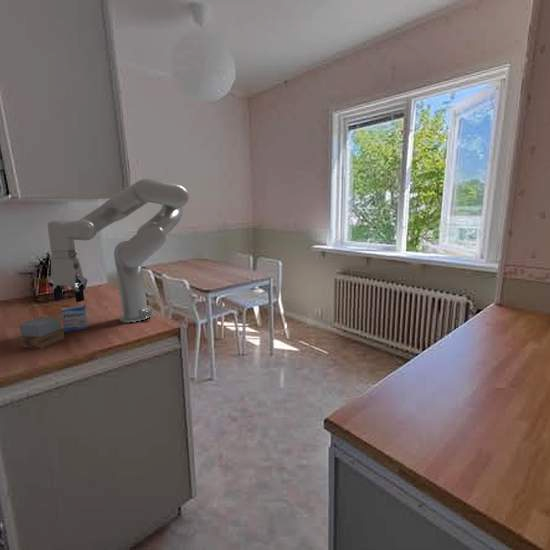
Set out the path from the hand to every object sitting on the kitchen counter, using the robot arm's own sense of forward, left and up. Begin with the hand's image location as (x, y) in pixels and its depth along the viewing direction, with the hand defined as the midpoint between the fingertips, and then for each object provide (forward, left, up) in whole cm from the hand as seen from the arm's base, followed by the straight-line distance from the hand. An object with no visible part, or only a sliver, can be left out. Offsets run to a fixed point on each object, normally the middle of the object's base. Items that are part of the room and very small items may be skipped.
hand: (69, 300), depth 127 cm
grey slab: (+1, +12, -8) cm, 15 cm away
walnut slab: (+1, +13, -12) cm, 17 cm away
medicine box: (-1, -1, -12) cm, 12 cm away
